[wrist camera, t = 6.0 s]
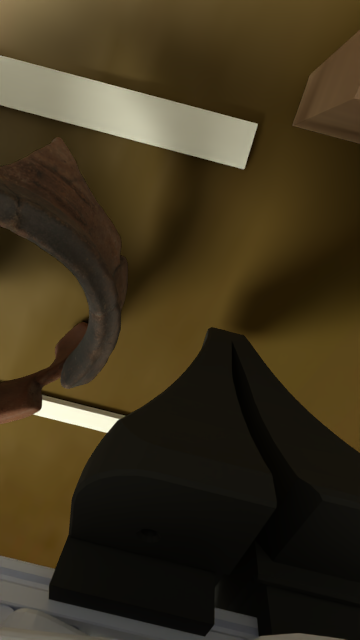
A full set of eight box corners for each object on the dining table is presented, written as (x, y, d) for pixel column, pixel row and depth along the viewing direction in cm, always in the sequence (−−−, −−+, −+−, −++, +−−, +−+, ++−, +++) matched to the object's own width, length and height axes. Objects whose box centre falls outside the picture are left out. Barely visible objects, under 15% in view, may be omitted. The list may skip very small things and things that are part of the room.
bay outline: (162, 441, 16) (161, 445, 16) (-102, 375, 16) (-107, 379, 15) (256, 124, 9) (257, 124, 9) (-219, -2, 9) (-232, -7, 8)
